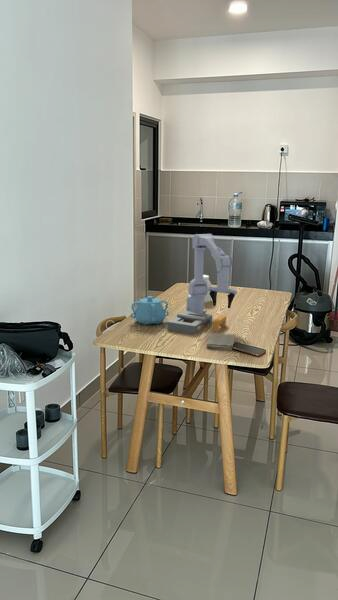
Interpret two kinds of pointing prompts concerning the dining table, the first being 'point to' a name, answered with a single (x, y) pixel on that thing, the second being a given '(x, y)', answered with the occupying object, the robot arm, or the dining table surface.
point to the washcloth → (221, 341)
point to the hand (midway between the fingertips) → (221, 306)
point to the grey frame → (188, 327)
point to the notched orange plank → (218, 322)
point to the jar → (206, 278)
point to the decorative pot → (149, 311)
